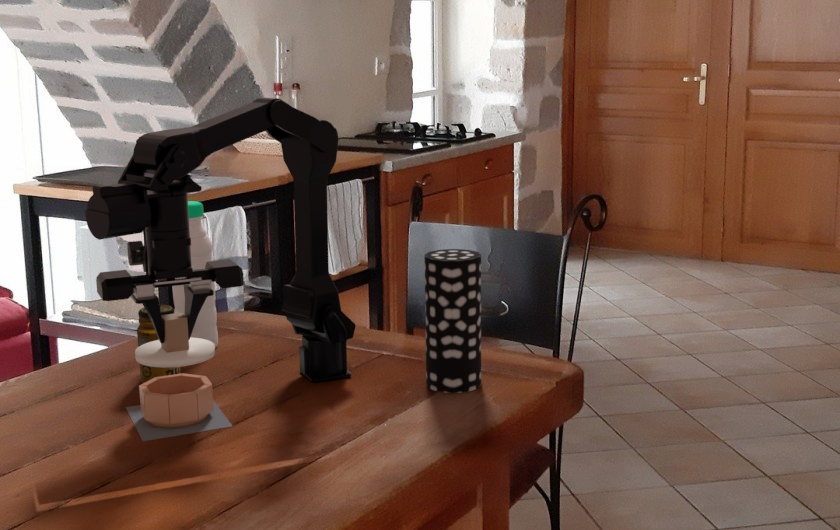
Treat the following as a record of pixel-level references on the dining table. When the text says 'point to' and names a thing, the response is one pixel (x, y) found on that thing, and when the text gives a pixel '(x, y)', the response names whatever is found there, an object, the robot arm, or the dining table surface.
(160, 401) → the bowl
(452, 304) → the spotted tube
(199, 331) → the water bottle
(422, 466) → the dining table surface
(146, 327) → the condiment
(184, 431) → the mat
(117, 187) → the robot arm
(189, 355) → the lid
